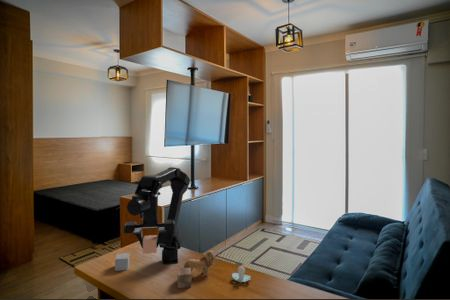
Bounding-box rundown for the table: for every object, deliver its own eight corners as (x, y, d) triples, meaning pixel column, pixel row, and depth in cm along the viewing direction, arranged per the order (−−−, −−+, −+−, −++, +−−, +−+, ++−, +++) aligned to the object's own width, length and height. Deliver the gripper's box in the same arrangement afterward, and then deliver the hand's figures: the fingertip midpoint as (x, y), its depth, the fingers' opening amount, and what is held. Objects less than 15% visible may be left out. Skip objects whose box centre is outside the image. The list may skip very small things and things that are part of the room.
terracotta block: (156, 247, 109) (156, 235, 109) (156, 252, 104) (156, 239, 104) (143, 248, 108) (143, 235, 108) (142, 253, 103) (142, 240, 103)
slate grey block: (129, 264, 118) (129, 253, 118) (127, 270, 113) (127, 258, 113) (117, 265, 117) (117, 254, 117) (115, 271, 112) (115, 259, 112)
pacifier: (235, 275, 111) (230, 282, 106) (235, 259, 111) (231, 266, 105) (252, 278, 109) (248, 285, 103) (253, 263, 109) (249, 269, 103)
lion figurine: (212, 268, 116) (212, 247, 115) (217, 274, 111) (217, 253, 110) (178, 275, 110) (178, 253, 109) (181, 281, 105) (182, 259, 105)
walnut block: (190, 279, 107) (190, 267, 106) (191, 287, 102) (191, 274, 101) (177, 281, 106) (177, 268, 105) (177, 288, 101) (177, 275, 100)
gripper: (174, 202, 115) (173, 238, 116) (127, 203, 111) (127, 241, 112) (174, 209, 104) (174, 249, 105) (123, 211, 100) (123, 252, 101)
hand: (150, 247), depth 106 cm, fingers closed on terracotta block, 5 cm apart
